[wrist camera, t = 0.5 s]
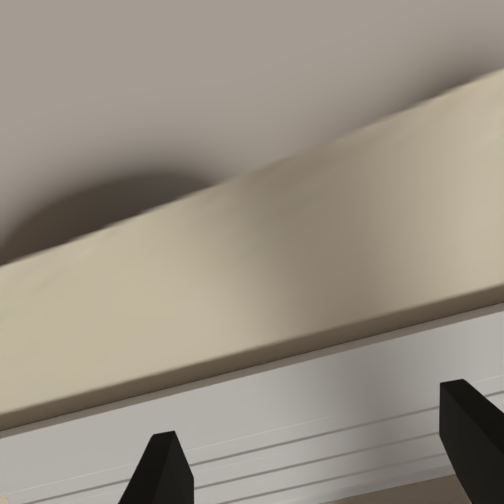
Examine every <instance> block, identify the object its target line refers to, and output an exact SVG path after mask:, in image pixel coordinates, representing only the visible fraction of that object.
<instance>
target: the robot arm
mask: <svg viewBox="0 0 504 504" xmlns="http://www.w3.org/2000/svg"><path fill="white" fill-rule="evenodd" d="M439 436H440V439H441V441H442V444H443V446H444V448H445V451H446V453H447V455H448V458H449V460H450V462H451V464H452V467H453V469H454V471H455V473H456V475H457V477H458V479H459V481H460V483H461V484H462V486H463V488H464V490H465V492H466V493H467V495H468V497H469V499H470V501H471V502H472V504H504V413H503V412H502V411H501V410H500V409H499V408H497V407H496V406H495V405H494V404H493V403H492V402H490V401H489V400H488V399H487V398H486V397H485V396H483V395H482V394H481V393H480V392H479V391H478V390H476V389H475V388H474V387H473V386H472V385H471V384H470V383H468V382H467V381H466V380H464V379H458V380H452V381H447V382H441V383H440V401H439ZM118 504H194V477H193V474H192V472H191V469H190V467H189V464H188V462H187V459H186V457H185V454H184V452H183V449H182V447H181V444H180V442H179V439H178V437H177V434H176V432H175V430H174V431H168V432H163V433H157V434H153V435H152V436H151V438H150V440H149V442H148V444H147V446H146V448H145V450H144V453H143V455H142V457H141V459H140V461H139V463H138V465H137V467H136V469H135V471H134V473H133V475H132V477H131V479H130V481H129V483H128V485H127V487H126V489H125V491H124V493H123V495H122V497H121V499H120V501H119V502H118Z"/></svg>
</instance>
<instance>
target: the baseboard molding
mask: <svg viewBox="0 0 504 504" xmlns="http://www.w3.org/2000/svg"><path fill="white" fill-rule="evenodd" d="M458 379H464V380H466V381H467V382H468V383H470V384H471V385H472V386H473V387H474V388H475V389H476V390H478V391H479V392H480V393H481V394H482V395H483V396H485V397H486V398H487V399H488V400H489V401H490V402H492V403H493V404H494V405H495V406H496V407H497V408H499V409H500V410H501V411H502V412H503V413H504V302H503V303H499V304H495V305H492V306H488V307H484V308H480V309H476V310H472V311H468V312H464V313H460V314H456V315H452V316H449V317H445V318H441V319H437V320H433V321H429V322H425V323H421V324H417V325H413V326H409V327H406V328H402V329H398V330H394V331H390V332H386V333H382V334H378V335H374V336H370V337H367V338H363V339H359V340H355V341H351V342H347V343H343V344H339V345H335V346H331V347H327V348H324V349H320V350H316V351H312V352H308V353H304V354H300V355H296V356H292V357H288V358H284V359H281V360H277V361H273V362H269V363H265V364H261V365H257V366H253V367H249V368H245V369H242V370H238V371H234V372H230V373H226V374H222V375H218V376H214V377H210V378H206V379H202V380H199V381H195V382H191V383H187V384H183V385H179V386H175V387H171V388H167V389H163V390H160V391H156V392H152V393H148V394H144V395H140V396H136V397H132V398H128V399H124V400H121V401H117V402H113V403H109V404H105V405H101V406H97V407H93V408H89V409H85V410H81V411H78V412H74V413H70V414H66V415H62V416H58V417H54V418H50V419H46V420H42V421H39V422H35V423H31V424H27V425H23V426H19V427H15V428H11V429H7V430H3V431H0V493H1V494H2V495H4V496H5V498H6V499H7V501H8V502H9V504H118V502H119V501H120V499H121V497H122V495H123V493H124V491H125V489H126V487H127V485H128V483H129V481H130V479H131V477H132V475H133V473H134V471H135V469H136V467H137V465H138V463H139V461H140V459H141V457H142V455H143V453H144V450H145V448H146V446H147V444H148V442H149V440H150V438H151V436H152V435H153V434H157V433H163V432H168V431H174V430H175V432H176V434H177V437H178V439H179V442H180V444H181V447H182V449H183V452H184V454H185V457H186V459H187V462H188V464H189V467H190V469H191V472H192V474H193V477H194V504H321V503H325V502H330V501H334V500H339V499H343V498H348V497H353V496H357V495H362V494H366V493H371V492H376V491H380V490H385V489H389V488H394V487H398V486H403V485H408V484H412V483H417V482H421V481H426V480H431V479H435V478H440V477H444V476H449V475H453V474H456V473H455V471H454V469H453V467H452V464H451V462H450V460H449V458H448V455H447V453H446V451H445V448H444V446H443V444H442V441H441V439H440V436H439V401H440V383H441V382H447V381H452V380H458Z"/></svg>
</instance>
